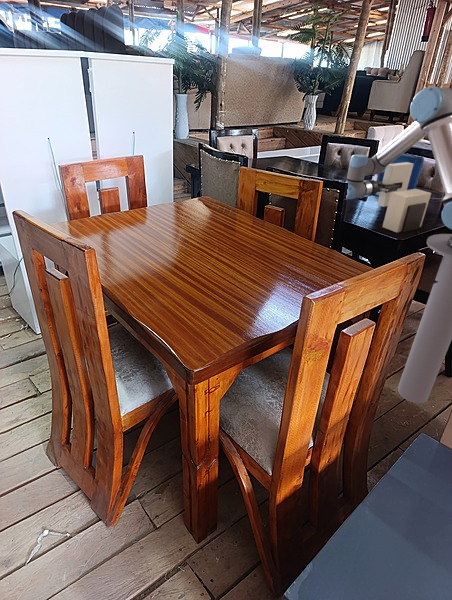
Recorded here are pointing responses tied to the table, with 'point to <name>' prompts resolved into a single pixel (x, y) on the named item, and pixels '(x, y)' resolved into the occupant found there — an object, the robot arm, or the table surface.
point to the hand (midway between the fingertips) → (397, 184)
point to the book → (414, 174)
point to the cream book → (395, 179)
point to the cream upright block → (406, 210)
